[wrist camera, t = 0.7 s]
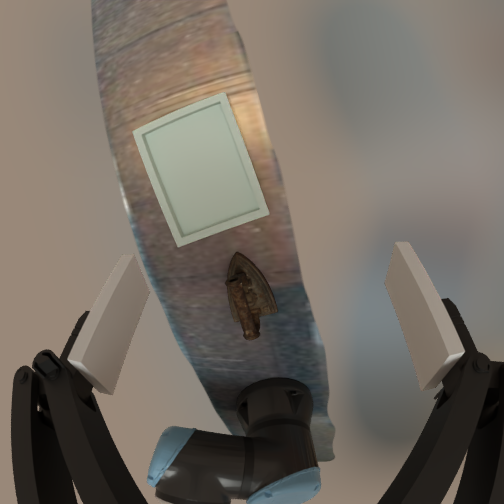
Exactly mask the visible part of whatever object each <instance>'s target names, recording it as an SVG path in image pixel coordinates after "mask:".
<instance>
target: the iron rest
mask: <svg viewBox="0 0 504 504" xmlns="http://www.w3.org/2000/svg"><path fill="white" fill-rule="evenodd" d="M132 132H133V135H134V138H135V141H136V143H137V146H138V149H139V152H140V154H141V157H142V160H143V163H144V165H145V168H146V171H147V173H148V176H149V178H150V181H151V184H152V186H153V189H154V191H155V194H156V196H157V199H158V201H159V204H160V206H161V209H162V211H163V213H164V216H165V218H166V221H167V223H168V225H169V228H170V230H171V233H172V235H173V237H174V239H175V242H176V244H177V246H178V247H180V246H183V245H186V244H189V243H191V242H194V241H197V240H199V239H202V238H205V237H208V236H210V235H213V234H216V233H219V232H221V231H224V230H227V229H230V228H232V227H235V226H238V225H241V224H244V223H247V222H249V221H252V220H255V219H258V218H261V217H264V216H267V215H269V211H268V208H267V205H266V202H265V199H264V196H263V194H262V191H261V188H260V185H259V182H258V179H257V177H256V174H255V171H254V168H253V166H252V163H251V160H250V157H249V155H248V152H247V149H246V146H245V144H244V141H243V138H242V136H241V133H240V130H239V128H238V125H237V122H236V120H235V117H234V114H233V112H232V109H231V106H230V104H229V101H228V99H227V96H226V93H225V92H223V93H220V94H217V95H214V96H212V97H209V98H206V99H204V100H201V101H199V102H196V103H194V104H191V105H189V106H186V107H184V108H181V109H179V110H177V111H174V112H172V113H170V114H168V115H165V116H163V117H161V118H159V119H157V120H155V121H152V122H150V123H148V124H146V125H144V126H142V127H140V128H138V129H136V130H134V131H132Z"/></svg>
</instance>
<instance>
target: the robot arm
mask: <svg viewBox="0 0 504 504" xmlns="http://www.w3.org/2000/svg"><path fill="white" fill-rule="evenodd" d="M385 286H386V288H387V291H388V293H389V296H390V298H391V301H392V304H393V306H394V309H395V311H396V314H397V317H398V320H399V322H400V325H401V328H402V331H403V334H404V337H405V340H406V342H407V345H408V349H409V352H410V355H411V358H412V361H413V365H414V368H415V371H416V375H417V378H418V382H419V384H420V389H421V391H424V390H428V389H432V388H436V387H437V385H438V384H439V383H440V382H441V381H442V383H443V386H444V387H443V388H442V389H441V390H440V391H439V392H438V393H437V395H436V396H435V397H434V399H437V398H438V399H437V402H436V404H435V406H434V408H433V411H432V413H431V415H430V417H429V419H428V421H427V423H426V425H425V427H424V429H423V431H422V433H421V435H420V437H419V439H418V441H417V443H416V444H415V446H414V448H413V450H412V452H411V453H410V455H409V457H408V459H407V460H406V462H405V464H404V465H403V467H402V468H401V470H400V472H399V473H398V475H397V476H396V478H395V479H394V481H393V482H392V484H391V485H390V487H389V488H388V490H387V491H386V492H385V494H384V495H383V497H382V498H381V499H380V501H379V502H378V504H441V502H442V500H443V499H444V497H445V495H446V493H447V491H448V490H449V488H450V486H451V484H452V482H453V480H454V478H455V476H456V474H457V472H458V470H459V468H460V465H461V463H462V461H463V459H464V456H465V454H466V452H467V456H466V461H465V465H464V470H463V473H462V477H461V480H460V484H459V487H458V491H457V494H456V497H455V500H454V503H453V504H504V362H496V361H490V359H489V358H488V357H487V356H486V355H485V354H483V353H480V352H478V351H477V349H476V347H475V344H474V342H473V340H472V338H471V336H470V333H469V331H468V329H467V327H466V325H465V324H464V321H463V319H462V317H461V316H460V313H459V311H458V309H457V307H456V305H455V304H454V303H453V302H452V301H450V299H449V298H447V299H441V298H440V296H439V295H438V293H437V291H436V289H435V287H434V285H433V283H432V281H431V280H430V278H429V276H428V274H427V272H426V271H425V269H424V267H423V265H422V264H421V262H420V260H419V259H418V257H417V255H416V254H415V252H414V250H413V249H412V247H411V245H410V244H409V242H395V245H394V249H393V253H392V257H391V261H390V265H389V269H388V273H387V276H386V280H385ZM149 294H150V291H149V289H148V287H147V284H146V282H145V279H144V277H143V275H142V272H141V270H140V267H139V265H138V262H137V260H136V257H135V255H134V254H125V255H122V256H121V257H120V259H119V261H118V262H117V264H116V266H115V268H114V269H113V271H112V272H111V274H110V276H109V278H108V280H107V282H106V283H105V285H104V287H103V288H102V290H101V292H100V294H99V296H98V298H97V299H96V301H95V303H94V305H93V307H92V309H91V311H86V312H85V313H84V314H83V315H82V316H81V317H80V318H79V319H78V321H77V323H76V326H75V329H73V331H72V333H71V336H70V337H69V339H68V342H67V343H66V346H65V348H64V350H63V352H62V354H61V356H60V358H58V357H57V356H56V355H55V354H54V353H53V352H52V351H51V350H43V351H41V352H40V353H38V354H37V355H36V357H35V358H34V361H33V365H32V368H33V369H34V370H35V372H34V371H33V370H32V369H31V368H30V367H28V366H22V367H20V368H19V369H18V370H17V372H16V373H15V376H14V381H13V392H12V409H11V446H12V463H13V474H14V482H15V489H16V496H17V501H18V504H78V503H77V499H76V495H75V491H74V486H73V482H74V484H75V487H76V489H77V491H78V493H79V495H80V498H81V500H82V502H83V504H148V503H147V501H146V500H145V498H144V496H143V495H142V493H141V492H140V490H139V488H138V487H137V485H136V483H135V481H134V480H133V478H132V476H131V474H130V473H129V471H128V469H127V467H126V465H125V464H124V461H123V459H122V458H121V456H120V454H119V452H118V450H117V448H116V445H115V444H114V441H113V439H112V437H111V435H110V433H109V430H108V428H107V426H106V423H105V421H104V419H103V416H102V414H101V411H100V409H99V406H98V404H97V401H96V399H95V396H94V394H93V393H92V392H91V391H92V388H93V387H94V388H95V389H97V390H98V391H99V392H100V393H105V394H109V395H113V393H114V390H115V387H116V384H117V380H118V378H119V375H120V372H121V368H122V366H123V363H124V360H125V357H126V354H127V351H128V348H129V346H130V343H131V340H132V337H133V335H134V332H135V329H136V327H137V324H138V321H139V319H140V316H141V314H142V311H143V309H144V306H145V304H146V301H147V299H148V296H149ZM37 405H38V406H39V407H40V408H39V411H37ZM312 411H313V399H312V395H311V392H310V390H309V389H308V388H307V387H306V386H305V385H304V384H302V383H300V382H298V381H295V380H291V379H285V378H274V379H267V380H263V381H259V382H257V383H254V384H252V385H250V386H249V387H247V388H246V389H245V390H243V391H242V392H241V394H240V395H239V397H238V399H237V416H238V418H239V420H240V423H241V425H242V427H243V429H244V432H245V434H246V437H244V436H235V435H227V434H220V433H214V432H207V431H202V430H196V428H193V429H190V428H183V427H177V426H171V427H168V428H167V429H165V430H164V432H163V433H162V435H161V437H160V439H159V441H158V443H157V446H156V449H155V451H154V454H153V457H152V460H151V463H150V467H149V471H148V477H147V483H148V484H149V485H151V486H152V487H156V493H155V497H156V499H157V500H158V501H159V502H160V503H161V504H230V503H231V499H243V500H246V503H247V504H301V503H304V502H306V501H308V500H309V499H311V498H313V497H314V496H315V495H316V494H317V493H318V492H319V490H320V488H321V479H320V468H319V467H318V462H317V458H316V453H315V449H314V444H313V440H312V436H311V432H310V422H311V417H312ZM467 449H468V451H467ZM72 480H73V481H72Z"/></svg>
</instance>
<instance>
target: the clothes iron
mask: <svg viewBox="0 0 504 504" xmlns="http://www.w3.org/2000/svg"><path fill="white" fill-rule="evenodd" d="M225 285H226V286H227V289H228V299H229V304H230V309H231V313H232V316H233V319H234V322H239V321H240V322H241V325H242V329H243V332H244V334H243V336H244V338H245V339H246V340H254V339H256V338H258V337H259V336H260V332H258V331H259V329H260V319H259V317H260V316H264V315H268V314H272V313H276V312H278V309H277V305H276V302H275V299H274V296H273V293H272V291H271V289H270V286H269V284H268V282H267V281H266V279H265V277H264V276H263V274H262V273H261V272H260V270H259V269H258V268H257V267H256V266H255V265H254V263H252V262H251V261H250V260H249V259H248V258H247V257H245V256H244V255H242V254H240V253H239V252H236V253H235V255H234V256H233V258H232V260H231V263H230V266H229V271H228V280H227V281H226V282H225Z"/></svg>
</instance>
